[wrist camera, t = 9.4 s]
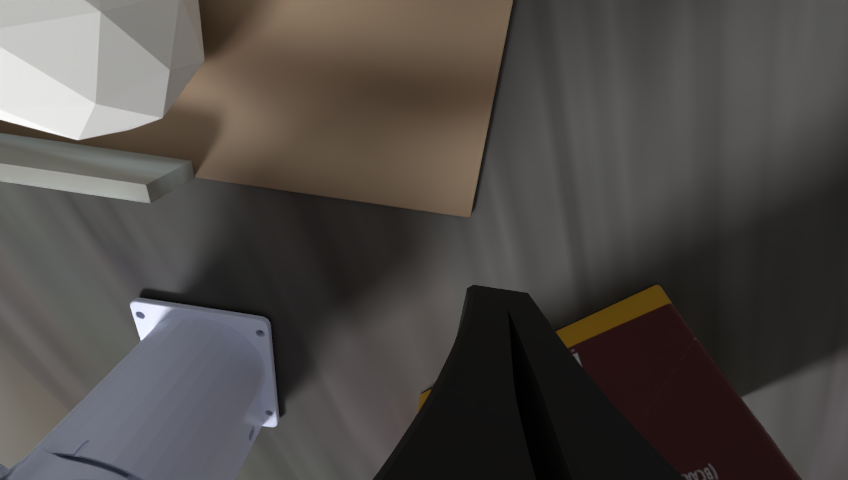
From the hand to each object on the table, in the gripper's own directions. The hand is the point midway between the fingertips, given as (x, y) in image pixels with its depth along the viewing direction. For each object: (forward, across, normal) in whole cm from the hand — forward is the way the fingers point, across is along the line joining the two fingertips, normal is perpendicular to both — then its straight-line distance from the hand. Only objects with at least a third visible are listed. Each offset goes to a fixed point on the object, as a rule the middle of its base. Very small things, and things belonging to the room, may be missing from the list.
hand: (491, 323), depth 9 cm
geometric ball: (+10, +14, -5) cm, 18 cm away
